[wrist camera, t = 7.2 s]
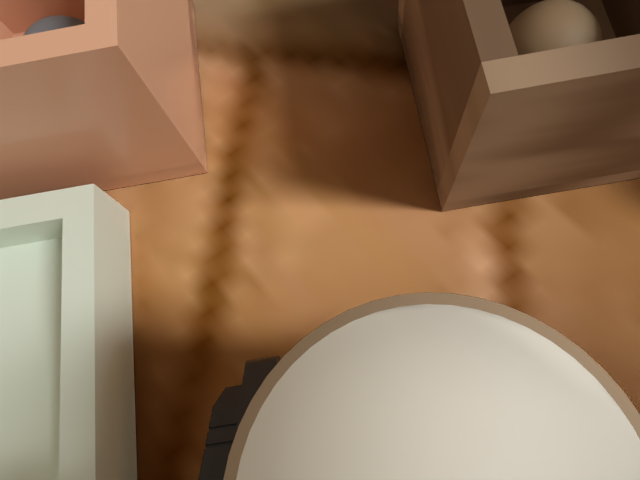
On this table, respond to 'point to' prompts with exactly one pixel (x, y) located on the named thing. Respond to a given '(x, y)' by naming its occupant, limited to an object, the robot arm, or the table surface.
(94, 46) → the pink square bin
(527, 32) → the cork ball
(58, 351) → the sage tray
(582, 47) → the brown open square box
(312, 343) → the cream canister
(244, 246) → the table surface
